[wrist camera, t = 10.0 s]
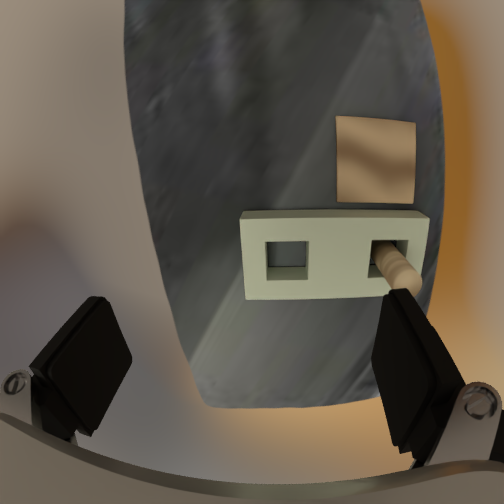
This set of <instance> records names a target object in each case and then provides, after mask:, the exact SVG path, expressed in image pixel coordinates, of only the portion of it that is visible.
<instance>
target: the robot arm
mask: <svg viewBox="0 0 504 504" xmlns="http://www.w3.org/2000/svg"><path fill="white" fill-rule="evenodd" d="M371 362H372V367H373V371H374V374H375V378H376V381H377V385H378V388H379V392H380V396H381V399H382V403H383V407H384V411H385V415H386V419H387V423H388V427H389V431H390V435H391V439H392V443H393V445H394V446H398V447H399V453H400V454H402V453H406V452H410V451H411V452H412V456H413V458H414V461H413V463H412V465H411V466H410V468H409V470H405V471H400V472H395V473H390V474H385V475H380V476H374V477H368V478H361V479H354V480H346V481H335V482H325V483H313V484H312V483H311V484H282V485H281V484H246V483H233V482H222V481H213V480H206V479H198V478H192V477H186V476H180V475H174V474H169V473H165V472H160V471H156V470H151V469H147V468H143V467H140V466H135V465H132V464H129V463H125V462H122V461H119V460H115V459H112V458H109V457H106V456H103V455H100V454H97V453H94V452H91V451H89V450H86V449H83V448H81V447H79V446H78V444H77V440H76V436H75V433H74V432H75V431H76V429H77V430H78V431H79V433H81V434H84V435H87V436H90V437H91V436H92V434H93V432H94V430H97V429H98V427H99V425H100V423H101V421H102V419H103V417H104V415H105V413H106V411H107V409H108V407H109V405H110V403H111V401H112V400H113V397H114V396H115V394H116V392H117V390H118V388H119V386H120V384H121V383H122V381H123V378H124V377H125V375H126V373H127V371H128V370H129V368H130V366H131V364H132V355H131V353H130V351H129V348H128V346H127V344H126V341H125V339H124V337H123V334H122V332H121V330H120V327H119V325H118V322H117V320H116V317H115V315H114V312H113V309H112V307H111V304H110V302H108V301H107V300H106V299H105V297H96V296H91V297H89V298H88V299H87V300H86V301H85V302H84V303H83V304H82V305H81V306H80V307H79V308H78V309H77V311H76V312H75V313H74V314H73V315H72V316H71V317H70V318H69V319H68V321H67V322H66V323H65V324H64V325H63V326H62V328H60V330H59V331H58V332H57V333H56V334H55V335H54V337H53V338H52V339H51V340H50V341H49V342H48V344H47V345H46V346H45V347H44V348H43V349H42V351H41V352H40V353H39V354H38V356H37V357H36V358H35V359H34V361H33V362H32V363H31V364H30V365H29V367H30V369H31V370H32V372H33V373H34V375H33V377H31V375H30V374H29V372H28V371H26V370H21V369H20V370H16V371H14V372H11V373H10V374H9V375H8V376H7V377H6V378H5V379H4V380H3V382H2V384H1V388H0V504H504V410H502V401H501V397H500V395H499V393H498V392H497V391H496V390H495V389H494V388H493V387H492V386H491V385H488V384H486V383H483V382H472V383H470V384H467V385H466V384H465V382H464V380H463V378H462V376H461V374H460V372H459V371H458V369H457V367H456V365H455V363H454V361H453V359H452V357H451V356H450V354H449V352H448V351H447V349H446V347H445V345H444V343H443V342H442V340H441V338H440V337H439V335H438V333H437V332H436V330H435V329H434V327H433V326H431V324H430V323H429V321H428V319H427V318H426V316H425V314H424V313H423V311H422V310H421V308H420V306H419V305H418V303H417V302H416V300H415V299H414V297H413V296H412V294H411V293H410V291H409V290H408V289H407V288H399V289H391V290H389V292H388V294H385V295H384V296H383V301H382V307H381V313H380V318H379V324H378V329H377V334H376V338H375V343H374V347H373V352H372V357H371Z"/></svg>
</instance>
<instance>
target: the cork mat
mask: <svg viewBox="0 0 504 504" xmlns="http://www.w3.org/2000/svg"><path fill="white" fill-rule="evenodd" d="M335 119H336V152H337V198H336V201H337V202H373V203H409V204H413V200H414V186H415V164H416V123H412V122H405V121H396V120H387V119H377V118H365V117H349V116H335Z"/></svg>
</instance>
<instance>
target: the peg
mask: <svg viewBox="0 0 504 504" xmlns="http://www.w3.org/2000/svg"><path fill="white" fill-rule="evenodd" d="M370 256H371V258H372V259H373V261H374V262H375V264H376V265H377V267H378V268H379V270H380V272H381V273H382V275H383V276H384V278H385V279H386V281H387V282H388V284H389V286H390V287H391V289H399V288H407V289H408V290H409V291H410V293H411V294H412V296H413V297H414V296H416V295H417V294H418V292H419V291H420V289H421V287H422V278H421V276H420V275H419V273H418V272H417V271H416V270H415V269H414V268H413V266H412V265H411V264H410V263H409V262H408V261H407V260H406V258H405V257H404V256H403V255H402V254H401V253H400V252H399V251H398V249H397V248H396V247H395V246H394V245H393V244H392V243H391V242H390V241H389V240H372V242H371V252H370Z"/></svg>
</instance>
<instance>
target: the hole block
mask: <svg viewBox="0 0 504 504" xmlns="http://www.w3.org/2000/svg"><path fill="white" fill-rule="evenodd" d="M429 220H430V218H428V217H427V216H425V215H423V214H422V213H420V212H419V211H414V210H364V209H314V210H262V211H243V213H242V215H241V218H240V232H241V245H242V258H243V271H244V284H245V297H246V300H281V299H326V298H352V297H373V296H384V295H385V294H388V292H389V290H391V287H390V286H389V284H388V282H387V281H386V279H385V278H384V276H383V275H382V273H381V272H380V270H379V268H378V267H377V265H369V261H370V252H371V242H372V240H397V244H396V248H397V249H398V251H399V252H400V253H401V254H402V255H403V256H404V257H405V258H406V260H407V261H408V262H409V263H410V264H411V265H412V266H413V268H414V269H415V270H416V271H417V272H418V273H419V275H421V270H422V265H423V260H424V254H425V248H426V242H427V235H428V228H429ZM276 241H306V267H268V259H267V242H276Z"/></svg>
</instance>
